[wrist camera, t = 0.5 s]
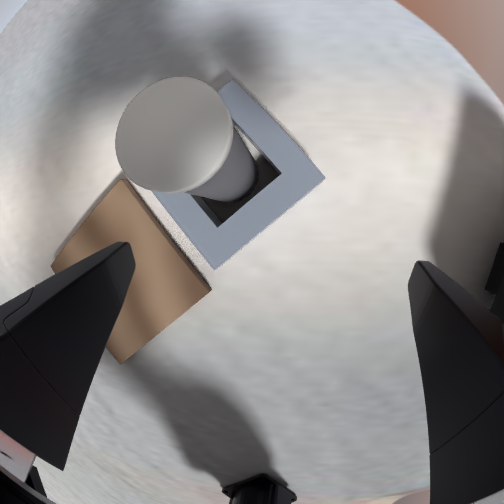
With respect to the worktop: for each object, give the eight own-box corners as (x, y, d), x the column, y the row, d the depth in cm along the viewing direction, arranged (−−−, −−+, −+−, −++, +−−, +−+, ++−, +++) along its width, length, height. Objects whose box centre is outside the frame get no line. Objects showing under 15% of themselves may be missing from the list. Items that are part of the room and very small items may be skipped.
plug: (226, 217, 23) (157, 217, 11) (188, 172, 23) (97, 135, 11) (273, 177, 22) (254, 131, 10) (234, 133, 22) (180, 57, 10)
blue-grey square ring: (222, 264, 24) (214, 270, 21) (148, 172, 24) (133, 167, 21) (321, 182, 22) (325, 177, 19) (238, 92, 22) (232, 79, 19)
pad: (125, 360, 26) (120, 364, 25) (56, 264, 26) (50, 266, 25) (212, 289, 24) (208, 292, 23) (126, 180, 24) (121, 178, 23)
